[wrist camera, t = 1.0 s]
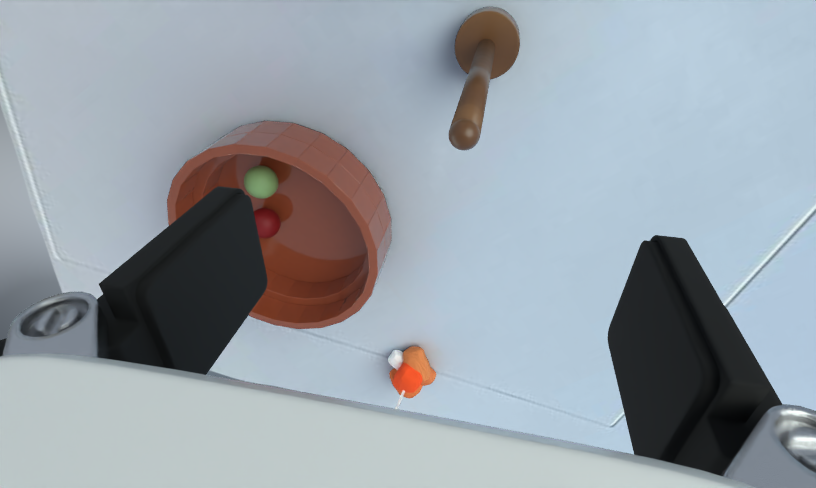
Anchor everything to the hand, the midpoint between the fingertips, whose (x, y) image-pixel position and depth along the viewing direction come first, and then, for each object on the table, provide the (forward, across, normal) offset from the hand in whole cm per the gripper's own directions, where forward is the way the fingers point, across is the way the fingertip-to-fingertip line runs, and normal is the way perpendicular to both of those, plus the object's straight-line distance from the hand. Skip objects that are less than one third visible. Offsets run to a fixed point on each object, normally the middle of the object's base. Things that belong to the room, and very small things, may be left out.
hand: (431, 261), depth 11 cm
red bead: (+25, +19, +16) cm, 36 cm away
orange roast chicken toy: (+27, +5, +36) cm, 46 cm away
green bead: (+25, +19, +12) cm, 33 cm away
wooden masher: (+27, 0, 0) cm, 27 cm away
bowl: (+27, +17, +16) cm, 36 cm away
